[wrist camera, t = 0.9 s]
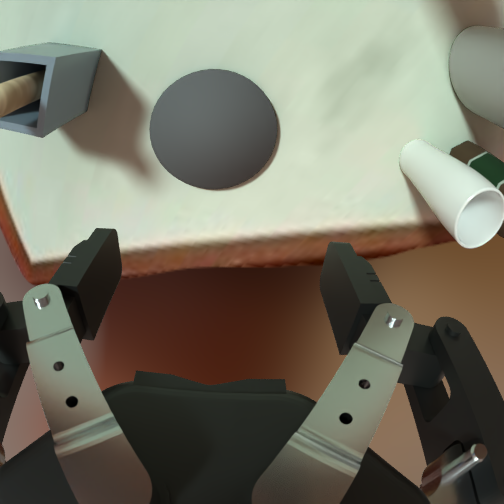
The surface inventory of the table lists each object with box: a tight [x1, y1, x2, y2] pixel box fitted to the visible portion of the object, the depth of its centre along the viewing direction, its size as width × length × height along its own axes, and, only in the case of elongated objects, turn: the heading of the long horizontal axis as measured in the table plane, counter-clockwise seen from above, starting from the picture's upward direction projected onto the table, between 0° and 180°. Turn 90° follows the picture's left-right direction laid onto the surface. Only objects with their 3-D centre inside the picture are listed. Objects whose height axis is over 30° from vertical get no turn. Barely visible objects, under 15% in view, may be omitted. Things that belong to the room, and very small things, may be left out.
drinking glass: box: [399, 139, 504, 248], centre depth 29 cm, size 7×7×15 cm
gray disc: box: [150, 69, 277, 189], centre depth 33 cm, size 14×14×1 cm
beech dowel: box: [0, 69, 46, 118], centre depth 21 cm, size 3×3×16 cm
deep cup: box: [0, 43, 102, 138], centre depth 24 cm, size 8×8×10 cm
